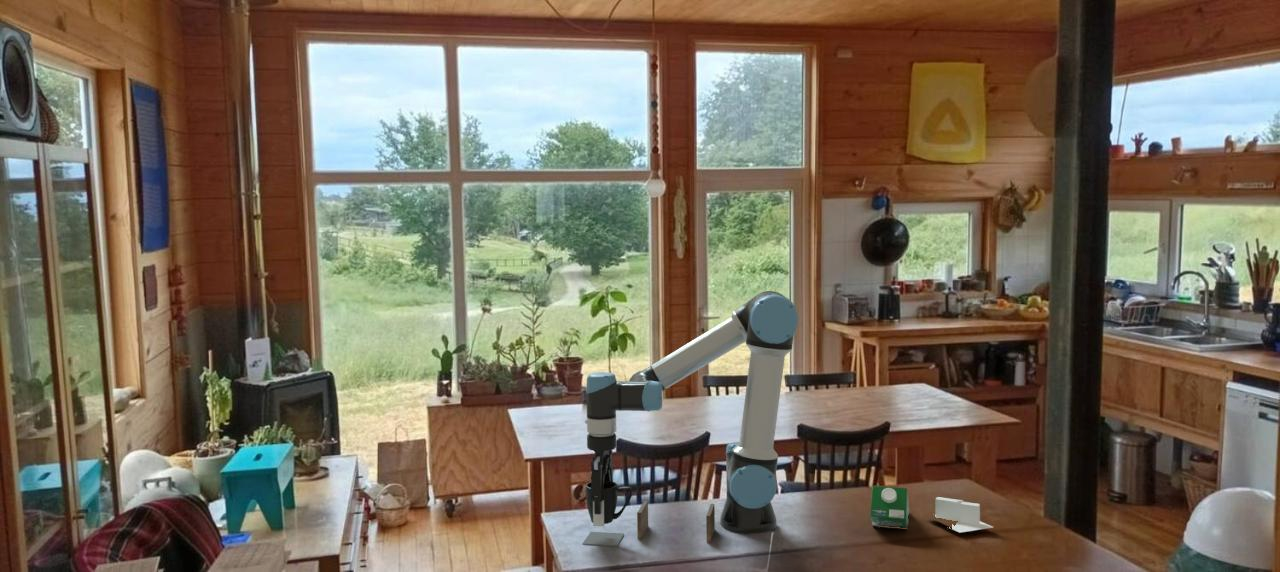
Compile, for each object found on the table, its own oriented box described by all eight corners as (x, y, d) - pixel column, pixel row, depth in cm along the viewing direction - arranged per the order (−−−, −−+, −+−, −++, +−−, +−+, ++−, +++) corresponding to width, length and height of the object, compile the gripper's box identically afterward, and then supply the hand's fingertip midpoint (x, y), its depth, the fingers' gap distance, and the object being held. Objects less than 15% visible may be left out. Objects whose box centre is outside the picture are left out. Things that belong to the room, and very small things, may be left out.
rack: (714, 529, 243) (714, 503, 242) (710, 542, 233) (710, 515, 233) (644, 526, 246) (644, 500, 246) (637, 538, 237) (637, 512, 236)
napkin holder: (923, 516, 253) (923, 495, 253) (956, 510, 257) (956, 491, 257) (959, 532, 239) (960, 511, 239) (994, 527, 243) (994, 506, 243)
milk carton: (909, 512, 261) (906, 485, 241) (908, 544, 257) (906, 519, 236) (876, 510, 264) (871, 482, 243) (875, 541, 260) (870, 516, 239)
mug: (631, 526, 231) (630, 489, 230) (584, 525, 232) (583, 489, 231) (633, 516, 239) (633, 480, 238) (588, 515, 240) (587, 480, 239)
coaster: (624, 535, 239) (624, 533, 239) (616, 547, 231) (616, 545, 230) (590, 533, 241) (590, 531, 241) (582, 545, 232) (582, 543, 232)
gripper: (596, 424, 245) (597, 507, 246) (577, 442, 224) (578, 532, 226) (624, 424, 243) (625, 508, 245) (606, 443, 223) (607, 534, 225)
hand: (602, 520), depth 235 cm, fingers closed on mug, 8 cm apart
